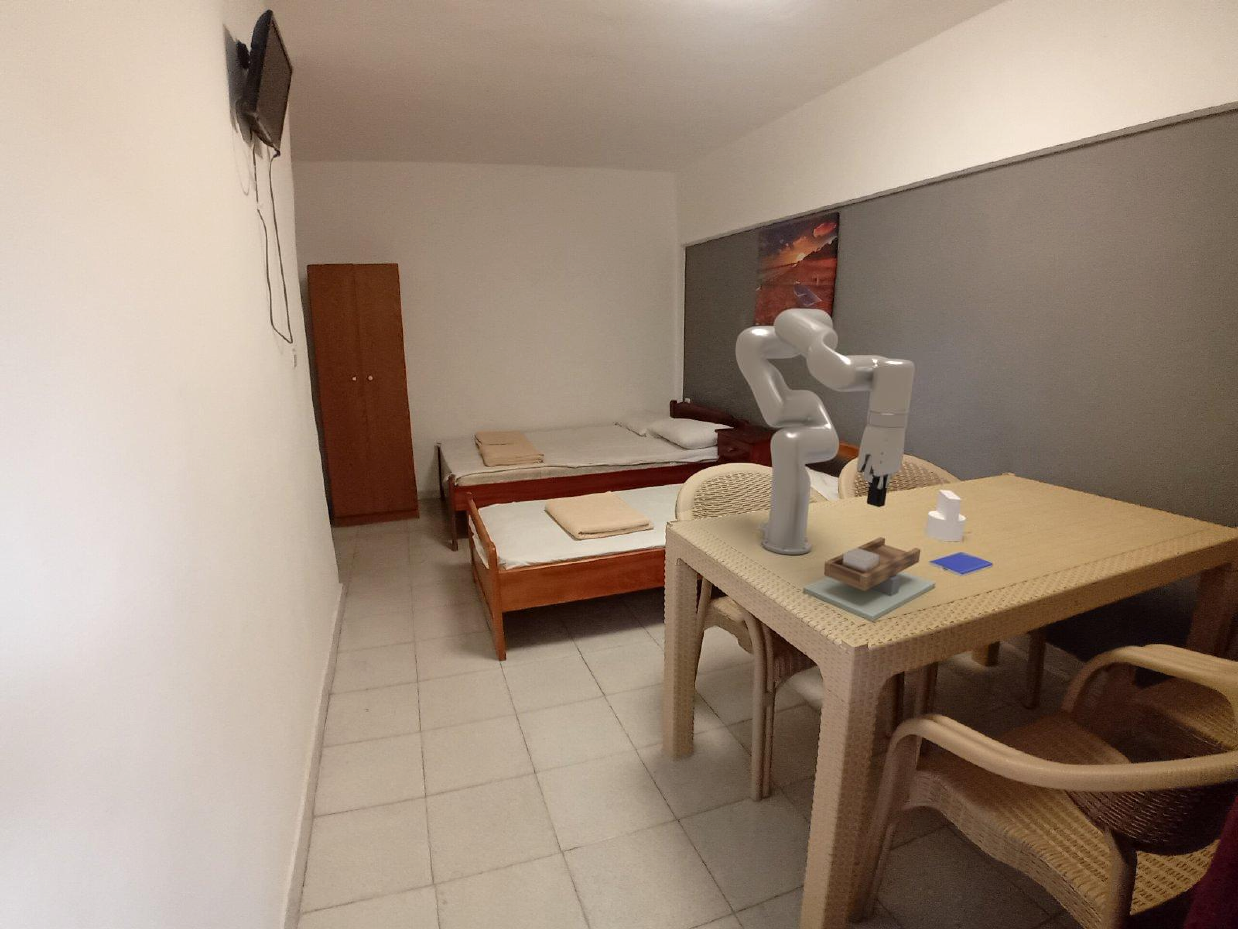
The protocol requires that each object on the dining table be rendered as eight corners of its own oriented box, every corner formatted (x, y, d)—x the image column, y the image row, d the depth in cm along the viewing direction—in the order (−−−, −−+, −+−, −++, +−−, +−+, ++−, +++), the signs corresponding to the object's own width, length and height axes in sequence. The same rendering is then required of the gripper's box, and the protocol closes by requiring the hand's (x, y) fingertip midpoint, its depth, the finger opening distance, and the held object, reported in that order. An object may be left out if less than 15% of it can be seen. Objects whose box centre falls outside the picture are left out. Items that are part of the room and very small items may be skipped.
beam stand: (868, 563, 144) (870, 545, 143) (934, 587, 131) (937, 567, 130) (803, 591, 128) (805, 571, 127) (872, 621, 116) (874, 599, 115)
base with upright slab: (967, 543, 158) (974, 500, 155) (930, 540, 160) (937, 498, 157) (955, 532, 166) (962, 491, 164) (921, 529, 168) (927, 489, 165)
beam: (879, 549, 139) (880, 537, 138) (918, 562, 132) (920, 549, 131) (823, 575, 126) (824, 562, 125) (864, 591, 119) (866, 577, 118)
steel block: (842, 571, 124) (843, 554, 123) (855, 565, 127) (856, 547, 126) (864, 579, 120) (866, 561, 119) (877, 572, 123) (879, 555, 122)
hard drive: (960, 551, 150) (929, 560, 144) (993, 562, 143) (961, 572, 137) (959, 557, 150) (928, 566, 144) (992, 568, 143) (960, 579, 137)
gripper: (889, 414, 128) (878, 494, 133) (849, 420, 120) (839, 506, 124) (923, 419, 122) (910, 503, 127) (884, 426, 114) (872, 516, 118)
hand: (875, 504), depth 126 cm, fingers closed
